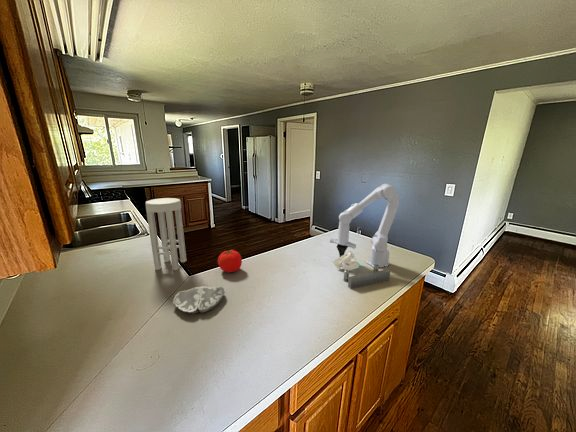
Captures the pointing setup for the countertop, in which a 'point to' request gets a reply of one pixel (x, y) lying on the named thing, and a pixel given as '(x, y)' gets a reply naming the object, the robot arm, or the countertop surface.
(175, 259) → the stool
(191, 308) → the brain slice
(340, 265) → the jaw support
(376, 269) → the housing bracket
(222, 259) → the tomato
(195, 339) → the countertop surface
